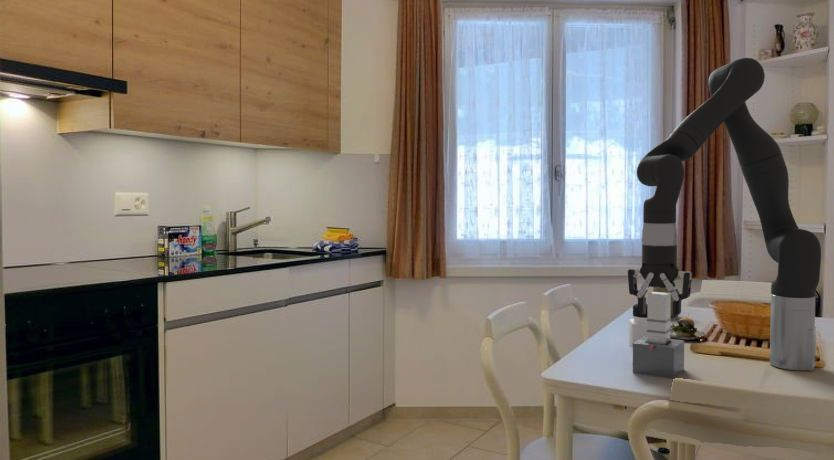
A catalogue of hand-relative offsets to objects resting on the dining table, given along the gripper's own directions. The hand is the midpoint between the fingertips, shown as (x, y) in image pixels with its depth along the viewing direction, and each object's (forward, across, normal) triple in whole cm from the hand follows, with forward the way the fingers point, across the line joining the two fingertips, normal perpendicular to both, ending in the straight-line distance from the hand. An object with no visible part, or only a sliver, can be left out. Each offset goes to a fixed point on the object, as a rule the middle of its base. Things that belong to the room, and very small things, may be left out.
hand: (658, 315), depth 148 cm
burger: (+15, +5, -44) cm, 47 cm away
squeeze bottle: (+14, +19, -75) cm, 79 cm away
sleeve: (+14, 0, 0) cm, 14 cm away
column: (+13, 0, 0) cm, 13 cm away
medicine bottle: (+14, +11, -26) cm, 32 cm away
